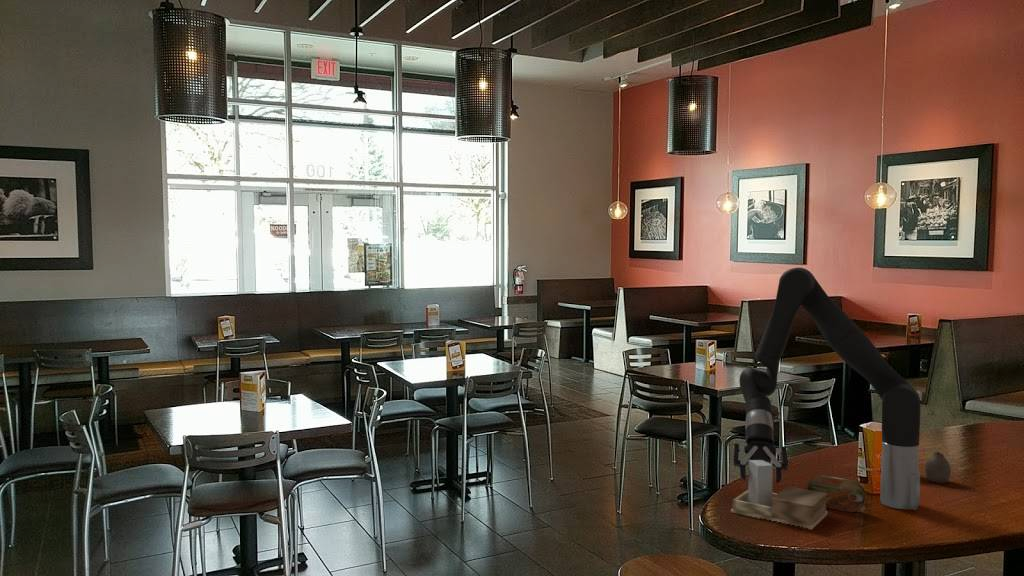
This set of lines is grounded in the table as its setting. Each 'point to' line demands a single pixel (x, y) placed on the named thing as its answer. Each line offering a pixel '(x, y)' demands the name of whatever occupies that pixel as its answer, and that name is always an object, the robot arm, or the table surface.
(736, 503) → the organizer tray
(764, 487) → the skincare box
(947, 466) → the vase
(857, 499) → the tin
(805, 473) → the table surface
